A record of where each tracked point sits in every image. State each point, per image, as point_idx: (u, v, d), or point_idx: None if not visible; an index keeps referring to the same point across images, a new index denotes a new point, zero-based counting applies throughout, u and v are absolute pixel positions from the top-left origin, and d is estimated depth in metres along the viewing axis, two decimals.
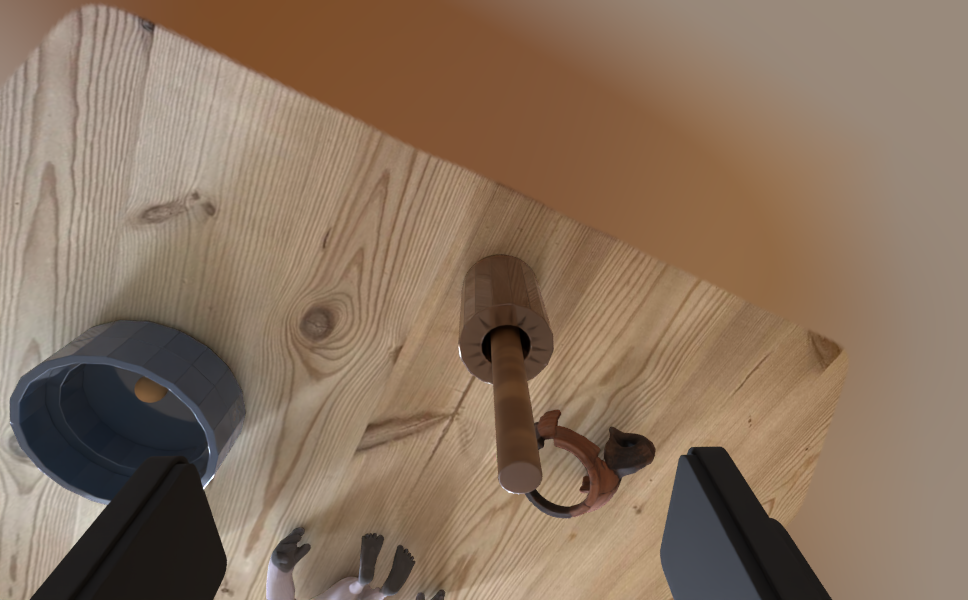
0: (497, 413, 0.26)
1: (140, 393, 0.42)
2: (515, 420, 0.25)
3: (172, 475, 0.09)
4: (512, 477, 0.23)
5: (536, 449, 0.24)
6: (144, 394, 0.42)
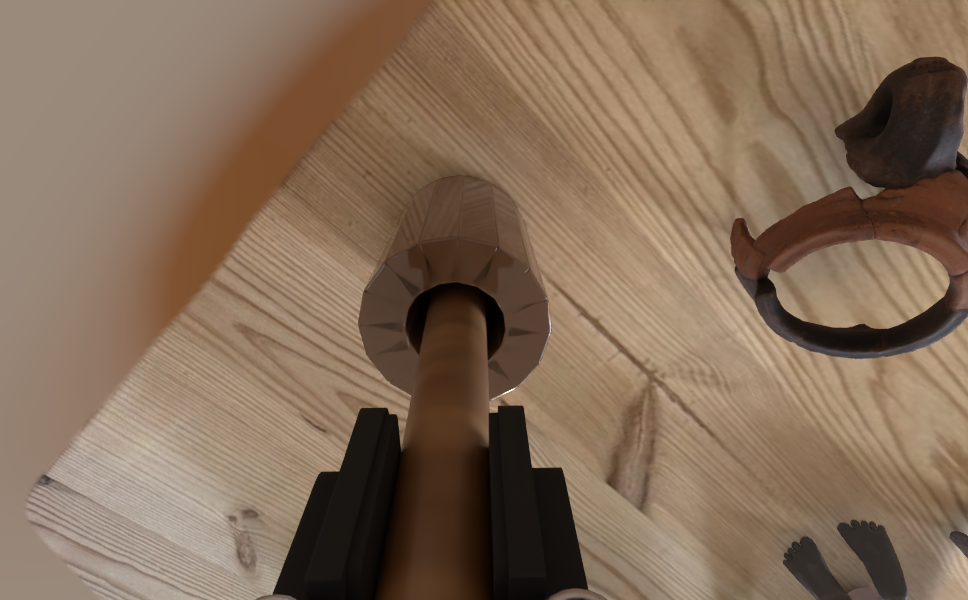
0: None
1: None
2: (380, 564, 0.08)
3: (387, 423, 0.10)
4: None
5: None
6: None
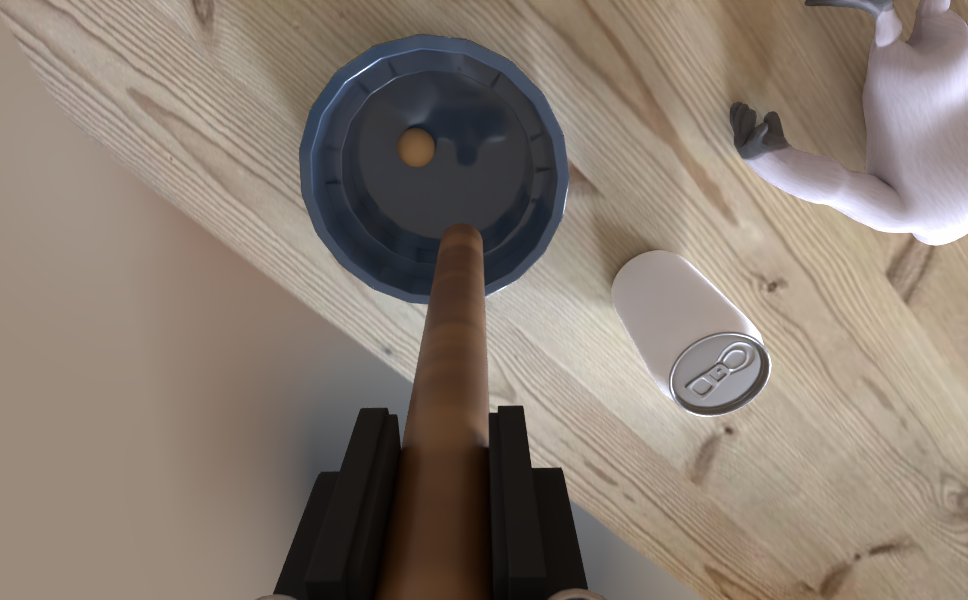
0: None
1: (408, 152, 0.31)
2: None
3: (387, 423, 0.10)
4: None
5: None
6: (411, 147, 0.31)
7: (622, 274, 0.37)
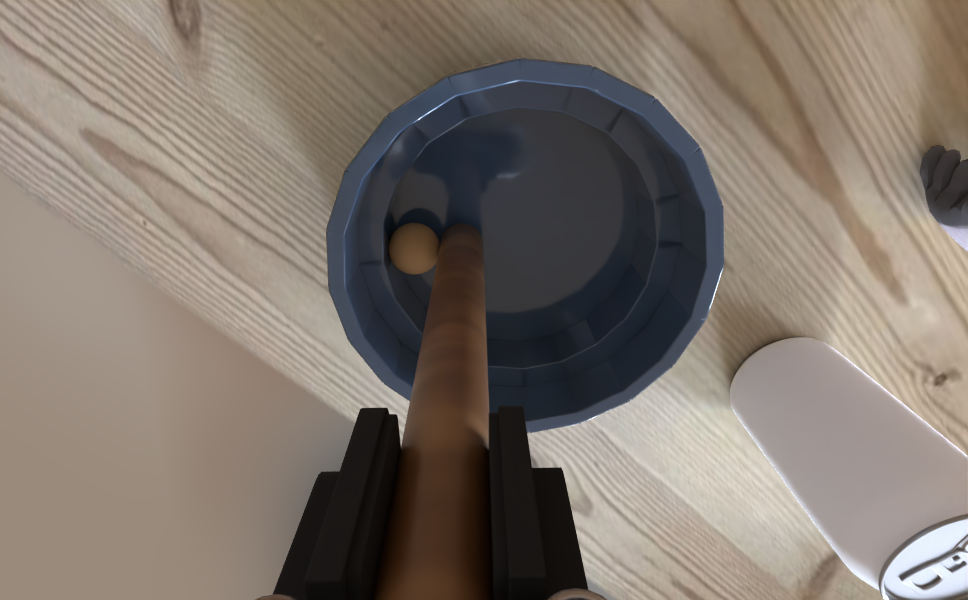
0: None
1: None
2: (379, 564, 0.08)
3: (387, 423, 0.10)
4: None
5: None
6: None
7: (751, 370, 0.28)
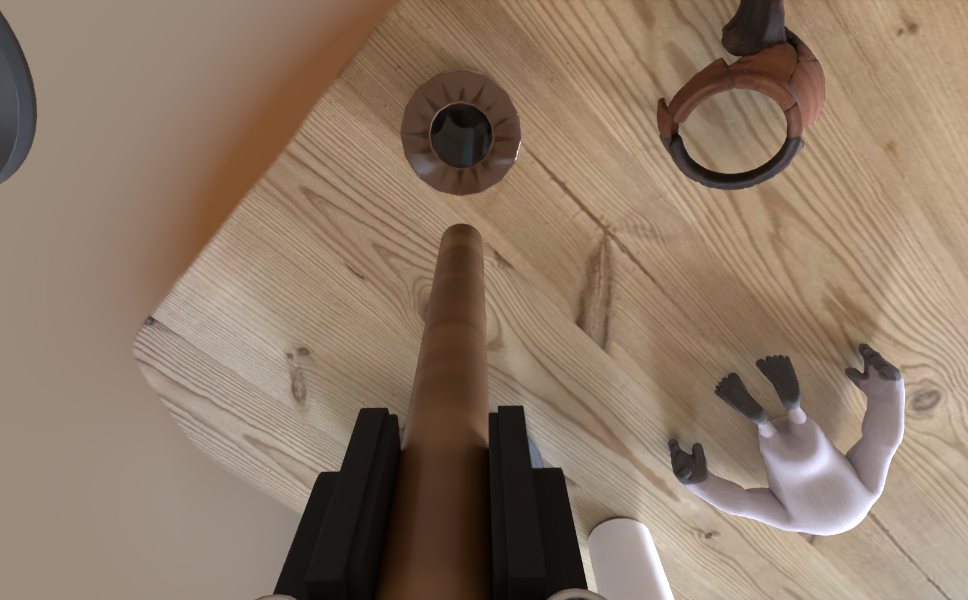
0: None
1: None
2: (379, 565, 0.08)
3: (387, 423, 0.10)
4: None
5: None
6: None
7: (595, 537, 0.50)
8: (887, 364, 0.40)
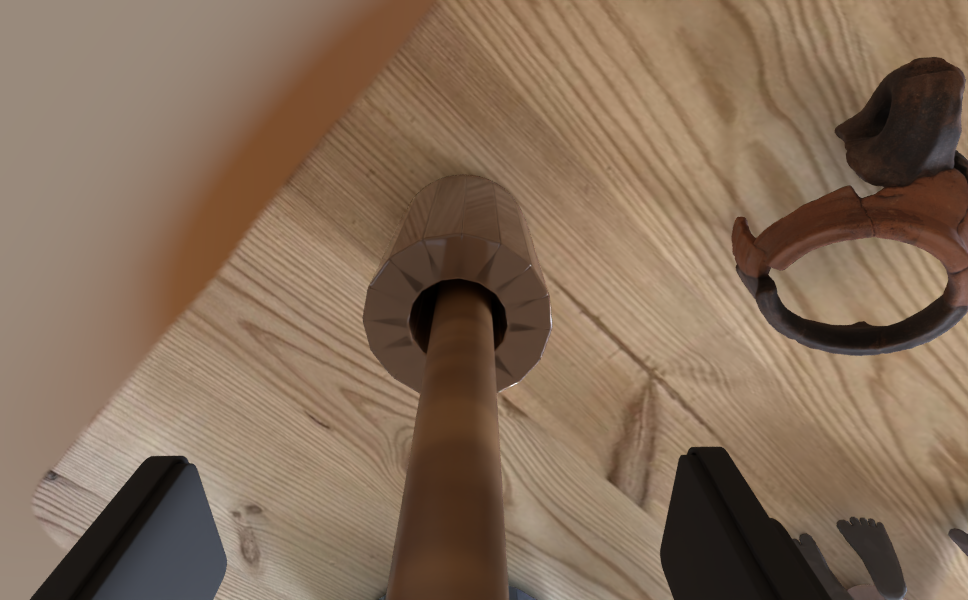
0: None
1: None
2: (394, 548, 0.09)
3: (172, 475, 0.09)
4: None
5: None
6: None
7: None
8: None
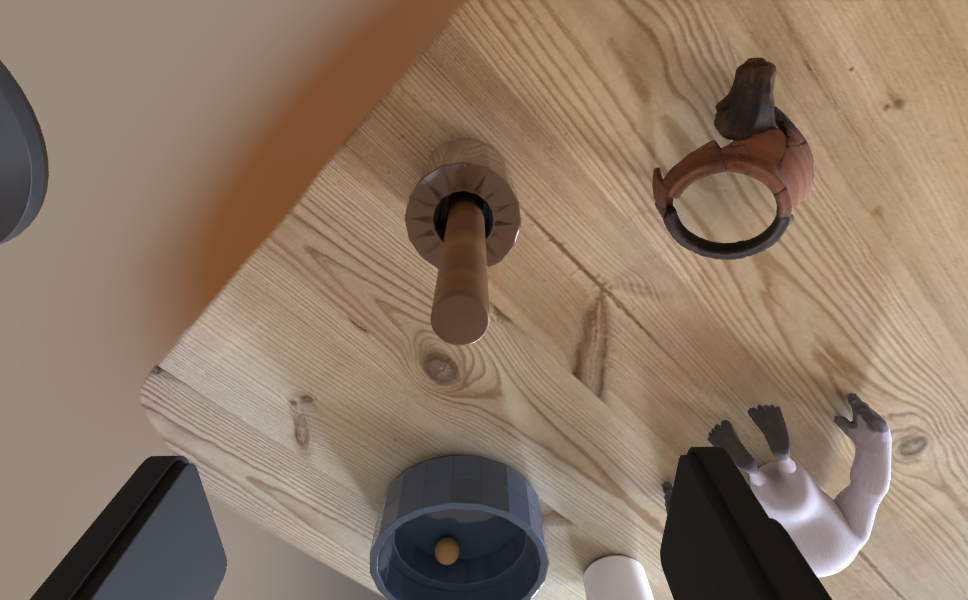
0: None
1: (453, 561, 0.48)
2: (437, 280, 0.19)
3: (172, 475, 0.09)
4: (454, 329, 0.17)
5: (454, 279, 0.18)
6: (454, 561, 0.48)
7: (590, 574, 0.52)
8: (874, 416, 0.42)
